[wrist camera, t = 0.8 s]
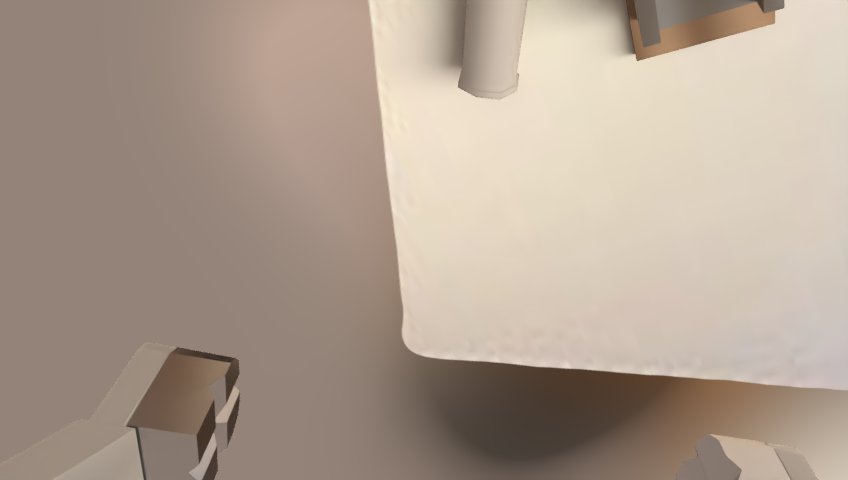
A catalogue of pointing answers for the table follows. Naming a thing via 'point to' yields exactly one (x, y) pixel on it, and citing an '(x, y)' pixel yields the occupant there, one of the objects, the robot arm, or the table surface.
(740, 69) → the table surface
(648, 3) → the bracket stand
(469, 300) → the table surface
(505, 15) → the tube
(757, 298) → the table surface
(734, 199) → the table surface
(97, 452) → the robot arm
